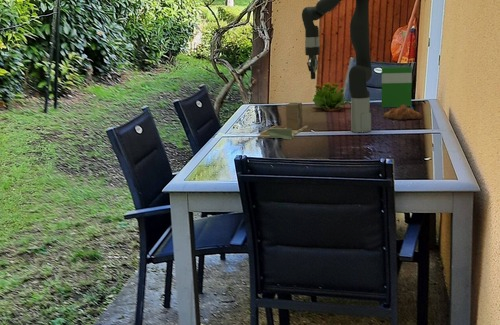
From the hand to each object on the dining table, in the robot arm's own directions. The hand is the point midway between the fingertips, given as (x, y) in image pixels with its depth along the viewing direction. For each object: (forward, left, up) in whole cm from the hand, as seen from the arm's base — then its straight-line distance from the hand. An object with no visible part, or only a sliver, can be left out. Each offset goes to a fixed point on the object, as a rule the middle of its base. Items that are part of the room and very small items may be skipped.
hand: (313, 78), depth 322 cm
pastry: (-20, -46, -26) cm, 56 cm away
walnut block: (-4, +16, -24) cm, 29 cm away
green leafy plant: (+32, -40, -25) cm, 57 cm away
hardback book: (+12, -74, -25) cm, 79 cm away
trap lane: (-6, +25, -25) cm, 36 cm away
